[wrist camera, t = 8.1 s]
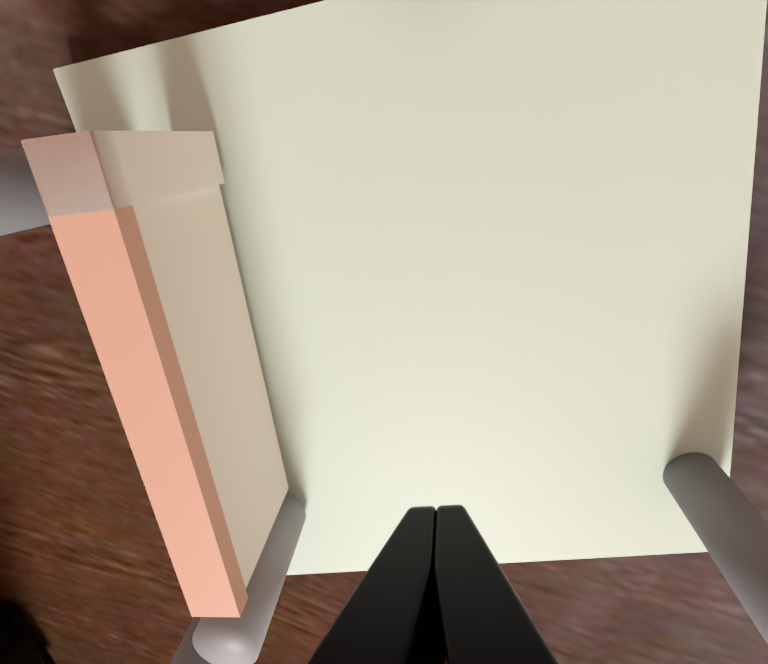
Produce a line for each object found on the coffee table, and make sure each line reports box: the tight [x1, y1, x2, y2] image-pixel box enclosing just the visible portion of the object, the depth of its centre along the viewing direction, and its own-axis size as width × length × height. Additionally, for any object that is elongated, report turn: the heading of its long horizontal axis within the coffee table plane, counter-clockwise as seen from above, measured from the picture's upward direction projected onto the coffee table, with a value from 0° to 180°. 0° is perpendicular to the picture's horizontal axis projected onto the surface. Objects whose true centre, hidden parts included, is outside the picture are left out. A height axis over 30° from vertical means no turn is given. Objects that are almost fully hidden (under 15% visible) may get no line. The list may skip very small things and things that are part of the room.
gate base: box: [0, 0, 768, 664], centre depth 15 cm, size 21×22×8 cm
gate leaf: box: [21, 131, 306, 664], centre depth 16 cm, size 16×2×6 cm, turn 7°
